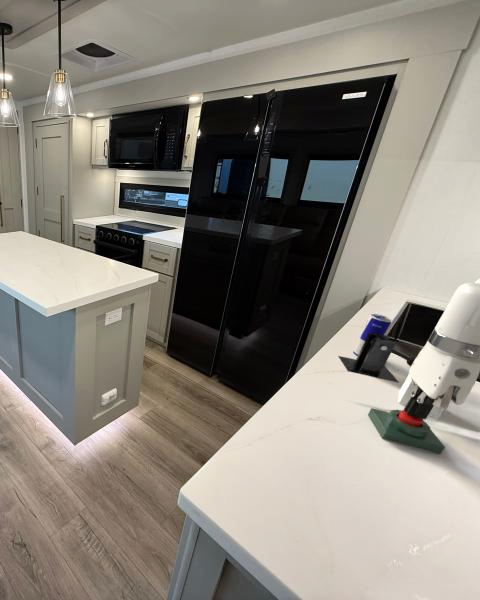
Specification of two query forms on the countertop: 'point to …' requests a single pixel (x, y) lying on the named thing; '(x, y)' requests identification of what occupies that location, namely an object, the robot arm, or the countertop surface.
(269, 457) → the countertop surface
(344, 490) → the countertop surface
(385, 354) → the bracket
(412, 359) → the lever
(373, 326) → the beverage can
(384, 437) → the button box
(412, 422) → the button
